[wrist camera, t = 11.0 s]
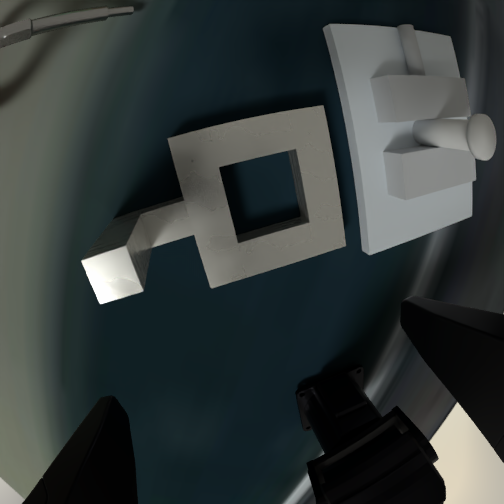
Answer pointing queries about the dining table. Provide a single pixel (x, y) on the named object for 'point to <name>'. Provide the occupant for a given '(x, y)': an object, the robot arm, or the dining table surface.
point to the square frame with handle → (217, 210)
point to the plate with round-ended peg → (406, 130)
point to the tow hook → (58, 22)
